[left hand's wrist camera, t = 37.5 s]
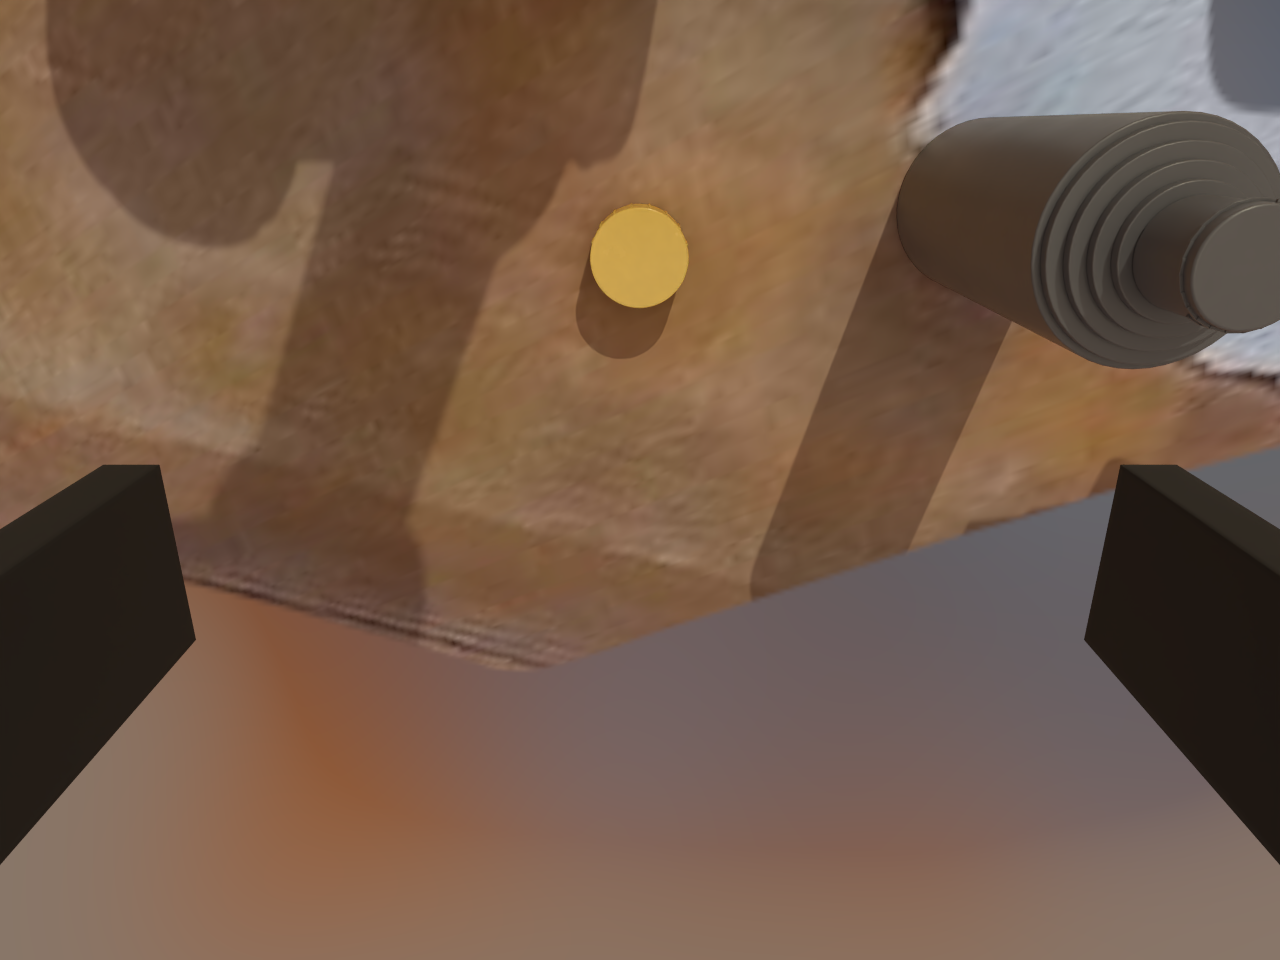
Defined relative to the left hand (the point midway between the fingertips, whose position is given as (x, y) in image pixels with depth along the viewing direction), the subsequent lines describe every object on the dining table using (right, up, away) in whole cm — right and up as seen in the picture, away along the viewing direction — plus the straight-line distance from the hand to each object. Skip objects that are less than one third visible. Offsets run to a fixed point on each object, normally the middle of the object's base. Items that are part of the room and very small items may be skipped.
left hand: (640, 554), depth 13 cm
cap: (0, +11, +29) cm, 32 cm away
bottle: (+16, +14, +31) cm, 37 cm away
